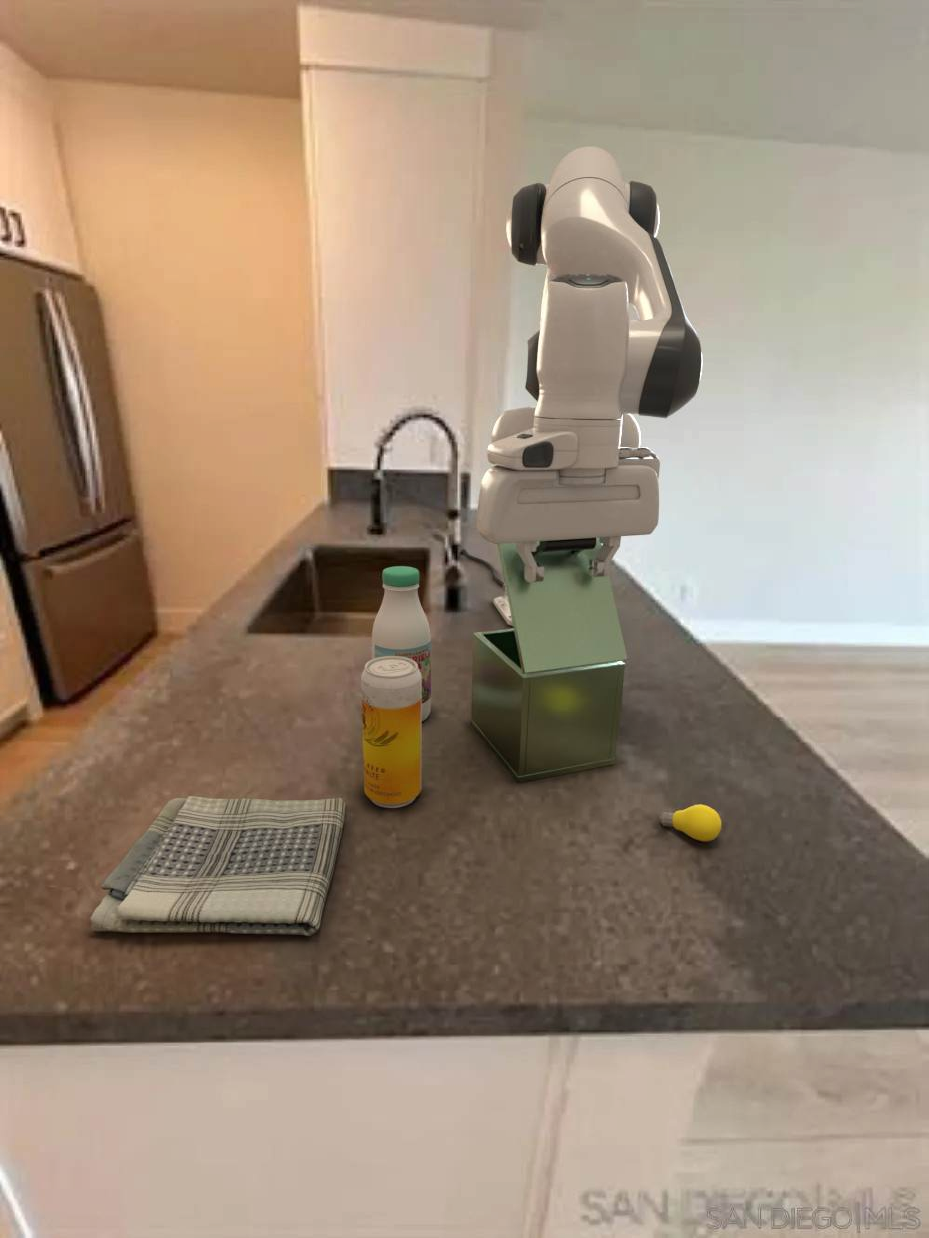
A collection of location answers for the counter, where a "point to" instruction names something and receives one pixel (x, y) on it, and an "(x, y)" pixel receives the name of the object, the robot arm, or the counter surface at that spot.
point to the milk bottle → (404, 626)
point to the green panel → (562, 608)
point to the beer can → (392, 730)
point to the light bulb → (694, 822)
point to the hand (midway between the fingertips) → (566, 578)
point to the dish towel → (227, 868)
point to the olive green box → (543, 710)
